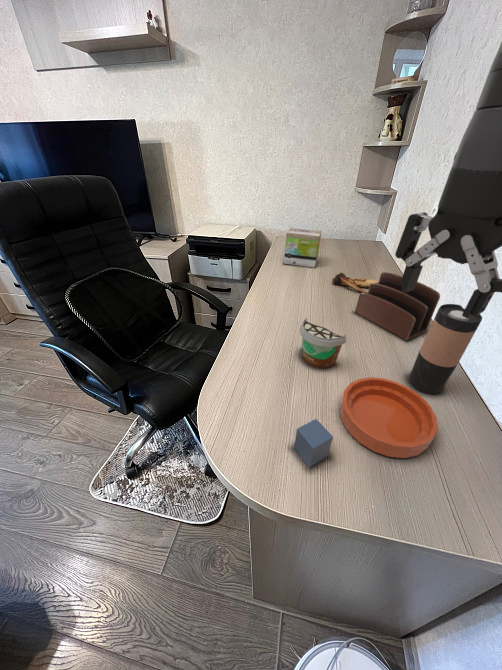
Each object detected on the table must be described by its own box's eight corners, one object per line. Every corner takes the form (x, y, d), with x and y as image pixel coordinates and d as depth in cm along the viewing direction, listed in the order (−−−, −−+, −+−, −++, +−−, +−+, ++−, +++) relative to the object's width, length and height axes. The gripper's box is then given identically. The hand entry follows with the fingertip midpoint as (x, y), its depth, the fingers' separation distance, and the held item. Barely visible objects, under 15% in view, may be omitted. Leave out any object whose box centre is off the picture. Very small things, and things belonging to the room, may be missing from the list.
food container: (287, 357, 76) (290, 326, 70) (300, 347, 79) (304, 317, 74) (327, 378, 69) (334, 346, 63) (339, 366, 72) (347, 335, 67)
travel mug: (412, 393, 65) (447, 320, 53) (403, 371, 71) (433, 302, 60) (448, 397, 64) (491, 324, 52) (435, 374, 70) (471, 305, 59)
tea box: (283, 264, 133) (285, 232, 124) (287, 257, 140) (289, 227, 132) (315, 268, 129) (319, 235, 121) (317, 261, 137) (321, 230, 128)
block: (327, 456, 52) (333, 436, 48) (309, 468, 50) (313, 448, 46) (311, 438, 55) (316, 418, 51) (293, 448, 53) (296, 428, 50)
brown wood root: (330, 290, 111) (379, 295, 106) (332, 279, 108) (382, 284, 103) (332, 280, 118) (377, 284, 113) (333, 270, 115) (380, 274, 111)
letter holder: (373, 305, 100) (384, 267, 92) (426, 332, 86) (444, 290, 78) (354, 312, 95) (363, 274, 87) (406, 341, 82) (423, 299, 73)
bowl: (448, 433, 56) (456, 420, 54) (391, 476, 49) (398, 464, 46) (376, 380, 68) (380, 367, 66) (322, 408, 61) (325, 395, 59)
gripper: (602, 167, 25) (508, 318, 35) (446, 160, 36) (405, 278, 45) (571, 171, 22) (477, 335, 32) (410, 162, 32) (374, 288, 42)
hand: (435, 302), depth 38 cm, fingers open, 8 cm apart
